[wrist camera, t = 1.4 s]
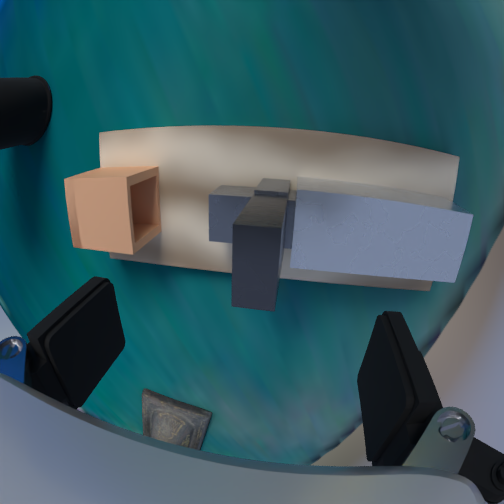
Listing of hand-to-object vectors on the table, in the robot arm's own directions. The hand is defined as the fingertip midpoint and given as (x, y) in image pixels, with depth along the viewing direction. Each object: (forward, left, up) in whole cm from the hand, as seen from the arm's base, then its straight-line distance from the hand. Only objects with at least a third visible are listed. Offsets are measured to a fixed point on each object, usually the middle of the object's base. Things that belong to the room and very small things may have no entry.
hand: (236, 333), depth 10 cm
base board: (-1, 0, -16) cm, 16 cm away
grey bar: (-1, +4, -14) cm, 15 cm away
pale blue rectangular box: (-1, +8, -14) cm, 16 cm away
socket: (-1, -12, -14) cm, 19 cm away
